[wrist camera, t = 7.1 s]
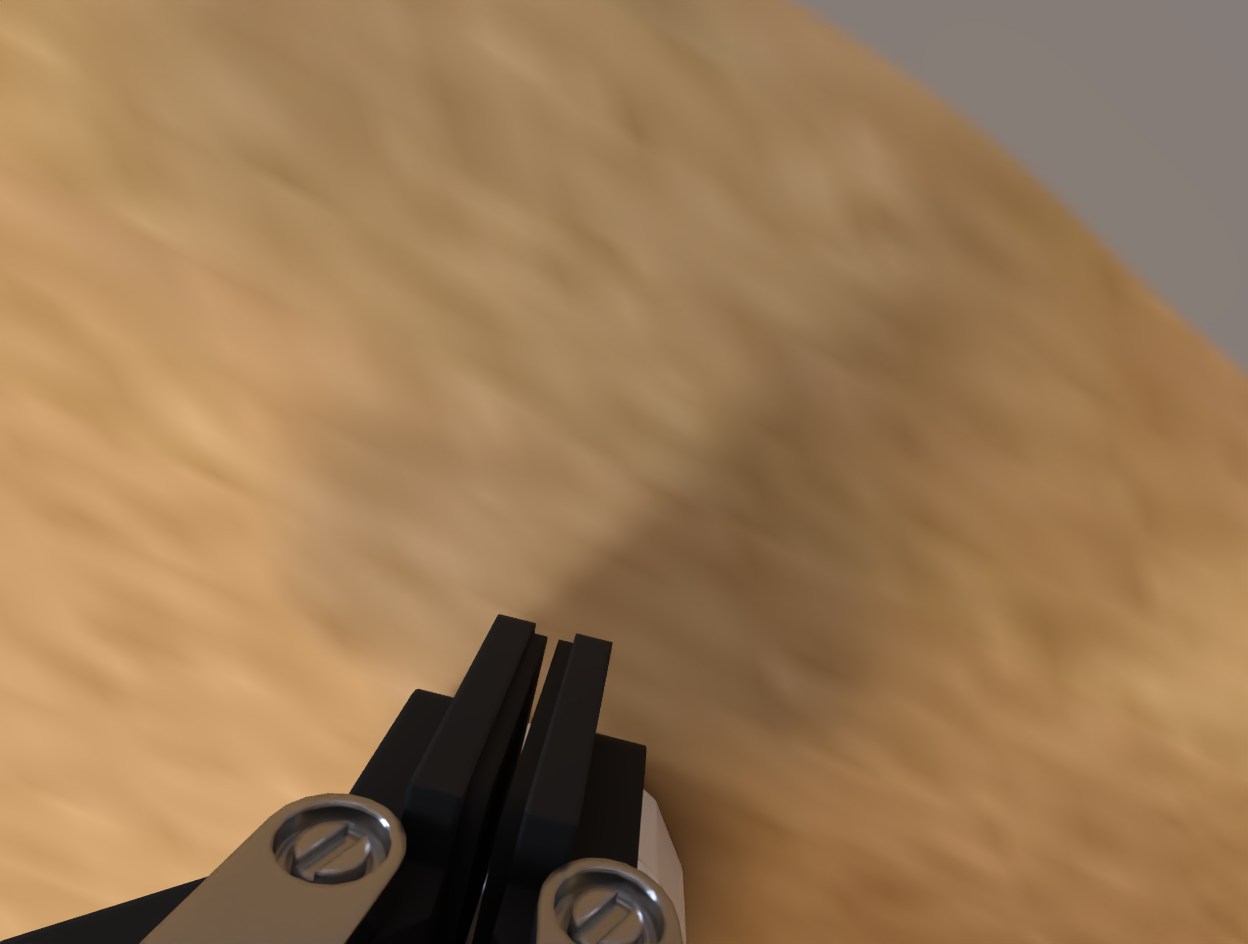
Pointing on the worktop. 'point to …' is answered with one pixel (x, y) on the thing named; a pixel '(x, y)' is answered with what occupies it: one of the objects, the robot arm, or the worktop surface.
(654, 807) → the white cup
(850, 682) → the worktop surface
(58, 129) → the worktop surface
